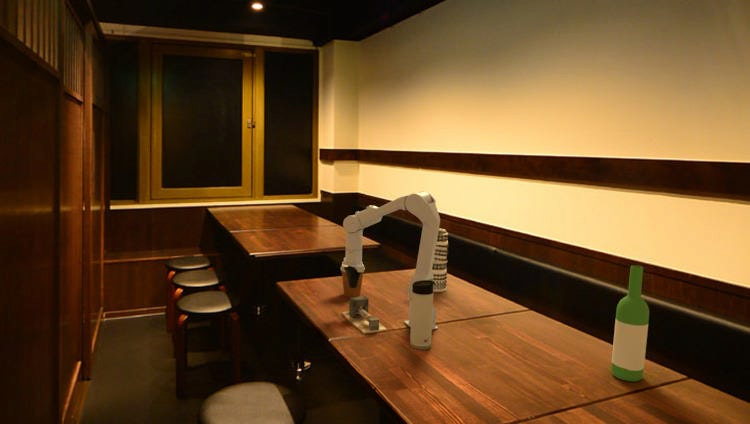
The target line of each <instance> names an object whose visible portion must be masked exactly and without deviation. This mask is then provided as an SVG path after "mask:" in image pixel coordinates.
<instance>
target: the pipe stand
mask: <svg viewBox="0 0 750 424" xmlns="http://www.w3.org/2000/svg"><path fill="white" fill-rule="evenodd" d="M356 313H359V314H360V315H361V316H362V317H356V318H352V317H351V316H350V301H349V302H348V311H343V312H341V315H342V316H344V318H345V319H347V320H348V321H349V322H350V323H351V324H352V325H353V326H354V327H355V328H356V329H358V330H359V332H361V333H362V334H372V333H379V332H386V331H387V327H385V326H383V325H382V324H381V323H380V318H378V317H374V316H373V315H372V314H370V313H369V312H368V313H367V312H366V311H365V310H363V309H362V306H361V307H356Z"/></svg>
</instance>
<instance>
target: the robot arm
mask: <svg viewBox="0 0 750 424" xmlns="http://www.w3.org/2000/svg"><path fill="white" fill-rule="evenodd" d="M436 201H437V200H436V199H435V198H434V197H433V196H432V194H431V193H429V192H427V191H420V192H416V193H411V194H407V195H404V196H400V197H397V198H395V199H394V200H392V201H389V202H387V203H386V204H383V205H381V206H379V207H378V206H376V205H368V206H366V208H365V209H364V210H361V211H359V210H358V211H355V214H353V215H348V216H347V217H345V218H344V220H343V222H342V226H343V229H344V230H345V257H343V261H342V262H341V265H342V264H343V265H348V267H344V270H345V272H346V274H347V277H348V282H349V287H350V288H356V287H357V283H358V280H359V277H360V275H361V273H362V272H363V273H364V272H365V270H364V268H365V265H364V264H363V261H362V260H363V231H364V229H365V228H368V227H370V226H373V225H375V224H377V223H379V222H381V221H382V218H383V216H384V217H385V216H386V215H388V214H391V213H394V212H396V211H399V210H403V211H408V212H409V213H411V214H412V215H414V216H415V217H417V218H418V219H419V221H420V222H421V223H422V230H421V237H420V241H419V242H420V243H419V247H418V248H419V249H418V254H417V261H416V266H415V270H414V273H413V275H412V278H411V281H410V284H408V286H407V289H406V293H407V296H408V297H409V307H408V308H409V309H408V320H404V321H403V323H404V324H406V325H407V326H408V327H409V328H411V307H412V289H413V288H412V285H413V283H414V282H416V281H421V280H430V281H433V273H432V266H433V260H434V254H435V249H436V243H437V237H438V231H439V228H440V224H441V217H440V214H439V211H438V208H437V204H436ZM363 265H364V266H363ZM433 290H434V284H433ZM436 322H437V309H436V307H435V306H434V305H433V313H432V331H433V330H437V329H438V326H437V323H436Z"/></svg>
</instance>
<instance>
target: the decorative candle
mask: <svg viewBox="0 0 750 424" xmlns="http://www.w3.org/2000/svg"><path fill="white" fill-rule="evenodd" d="M448 235H449V232H447V229H444V228H441V227H439V231H438V237H437V243H436V249H435V254H434V260H433V266H432V273H433V281H435V285H434V290H433V293H434V292H437V293H438V292H439V293H440V292H445V291H447V286H448V285H447V282H448V281H447V278H448V276H447V275H448V272H447V263H448V261H449V260H448V256H449V252H450V251H449V250H448V248H450V245H449V244H450V243H449V241H448V239H449V238H448Z"/></svg>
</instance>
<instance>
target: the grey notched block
mask: <svg viewBox="0 0 750 424" xmlns="http://www.w3.org/2000/svg"><path fill="white" fill-rule="evenodd" d="M369 301H370V300H369V297H367V296H365V295H364V296H358V297H349V302H350V316H351V317H352V318H356V317H362V316H361V315H360V314H359V313H356V307H361V308H362V309H363V310H365V311H366V312H367V313H368V314H369Z"/></svg>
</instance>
